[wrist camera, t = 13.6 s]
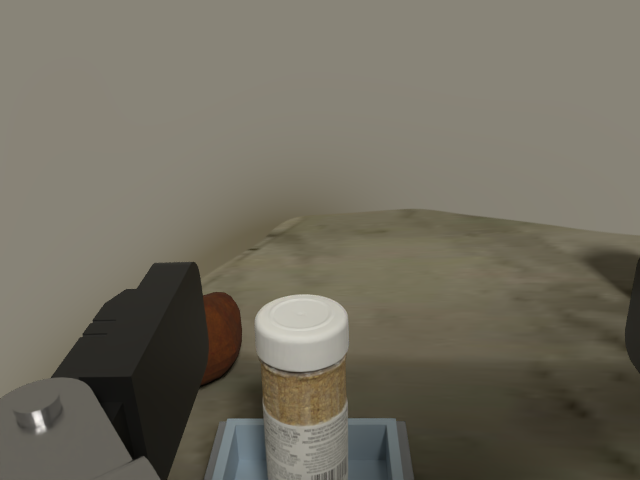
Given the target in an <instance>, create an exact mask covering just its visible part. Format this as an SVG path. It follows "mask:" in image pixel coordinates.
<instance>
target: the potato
mask: <svg viewBox="0 0 640 480" xmlns="http://www.w3.org/2000/svg"><path fill="white" fill-rule="evenodd" d="M203 301H204V308H205V315H206V322H207V329H208V338H209V353H208V362H207V367H206V370H205V373H204V376H203V378H202V381H201V384H200V385H203V384H206V383H208V382H210V381H213V380H215V379H217V378H219V377H221V376H222V375H223V374H224V373H225V372H226V371H227V370H228V369H229V368H230V367H231V366H232V364H233V363H234V361H235V360H236V358H237V356H238V355H239V351H240V347H241V342H242V326H241V317H240V310H239V308H238V306H237V304H236V302H235V301H234V300H233V299H232V297H231V296H229V295H228V294H226V293H224V292H214V293H210V294H207V295H203Z"/></svg>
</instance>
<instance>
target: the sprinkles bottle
mask: <svg viewBox="0 0 640 480" xmlns="http://www.w3.org/2000/svg"><path fill="white" fill-rule="evenodd" d="M255 341H256V352H257V354H258V357H259V361H260V362H261V374H262V386H263V399H262V400H263V417H264V432H265V447H266V461H267V474H268V480H348V400H347V397H346V372H345V371H346V370H345V366H346V364H345V359H346V354H347V350H348V347H349V326H348V315H347V312H346V311H345V309H344V308H343V307H342V306H341V305H340V304H339V303H337V302H336V301H334V300H332V299H329V298H326V297H322V296H317V295H291V296H286V297H282V298H279V299H276V300H274V301H272V302H270V303H268V304H266V305H265V306H263V307H262V308H261V309H260V310H259V312H258V313H257V315H256V318H255Z"/></svg>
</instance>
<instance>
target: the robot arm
mask: <svg viewBox="0 0 640 480" xmlns="http://www.w3.org/2000/svg"><path fill="white" fill-rule="evenodd" d="M625 342H626V348H627V352H628V355H629V358H630V360H631V362H632V363H633V365H634V366H635V368H636V369H637V370H638V372H639V373H640V258H639V260H638V263H637V267H636V272H635V278H634V283H633V289H632V294H631V300H630V305H629V311H628V316H627V322H626V328H625ZM208 353H209V338H208V329H207V322H206V315H205V308H204V301H203V294H202V286H201V279H200V274H199V269H198V266H197V264H196V263H195V262H174V263H154V264H153V265H152V266H151V268H150V269H149V271H148V273H147V274H146V276H145V277H144V279H143V280H142V282H141V283H140V285H139V286H138V288H137V289H126V290H124V291H123V292H121V293H120V294H118V295H117V296H115V297H114V298H112V299H111V300H109V301H108V302H106V303H105V304H104V305H103V307H102V308H101V309H100V311H99V312H98V314H97V315H96V316H95V318H94V319H93V323H91V324H89V326H88V327H87V329H86V330H85V331H84V333H83V337H80V338H79V340H78V341H77V342H76V344H75V345H74V346H73V348H72V349H71V351H70V352H69V353H68V355H67V356H66V357H65V359H64V360H63V362H62V363H61V364H60V366H59V367H58V368H57V370H56V371H55V373H54V374H53V376H52V377H51V378H49V379H43V380H39V381H36V382H32V383H29V384H26V385H24V386H21V387H19V388H17V389H15V390H13V391H11V392H9V393H8V394H6V395H4V396H3V397H2V398H0V480H167V478H168V475H169V472H170V469H171V467H172V464H173V461H174V458H175V455H176V452H177V449H178V447H179V444H180V441H181V438H182V435H183V432H184V430H185V427H186V424H187V421H188V418H189V415H190V413H191V410H192V407H193V404H194V401H195V398H196V396H197V393H198V390H199V387H200V384H201V381H202V378H203V376H204V373H205V370H206V367H207V362H208Z"/></svg>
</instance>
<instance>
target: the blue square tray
mask: <svg viewBox="0 0 640 480" xmlns="http://www.w3.org/2000/svg"><path fill="white" fill-rule="evenodd" d="M204 480H268V474H267V461H266V447H265V432H264V419H227V422H220V423H219V426H218V430H217V434H216V437H215V441H214V445H213V448H212V452H211V455H210V459H209V463H208V466H207V470H206V474H205V477H204ZM348 480H414V475H413V469H412V462H411V456H410V449H409V443H408V436H407V430H406V423H405V421H396V419H395V418H348Z"/></svg>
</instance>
